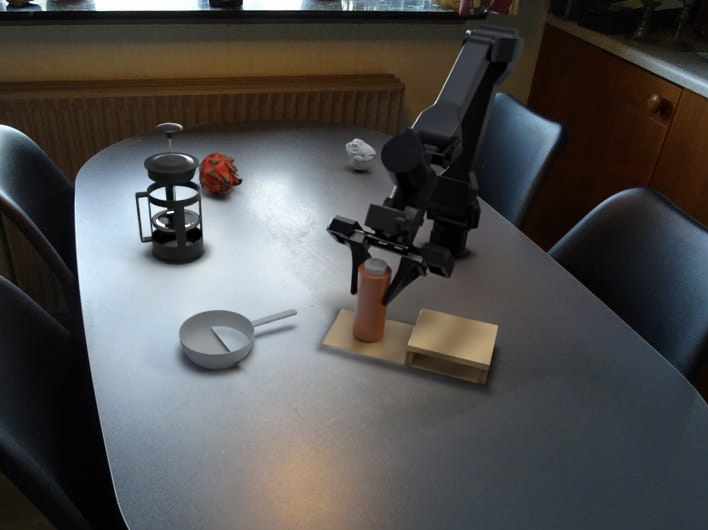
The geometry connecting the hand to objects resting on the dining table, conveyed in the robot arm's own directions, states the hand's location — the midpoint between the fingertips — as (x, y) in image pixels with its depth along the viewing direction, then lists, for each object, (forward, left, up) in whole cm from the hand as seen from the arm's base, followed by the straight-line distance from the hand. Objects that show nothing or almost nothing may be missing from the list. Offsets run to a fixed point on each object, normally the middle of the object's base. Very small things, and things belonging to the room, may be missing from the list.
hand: (367, 299), depth 97 cm
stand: (-5, +4, -8) cm, 10 cm away
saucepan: (+16, -8, -8) cm, 20 cm away
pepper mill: (-1, -1, -7) cm, 7 cm away
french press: (+14, -38, -8) cm, 42 cm away
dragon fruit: (-4, -58, -8) cm, 59 cm away
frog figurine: (-38, -55, -8) cm, 68 cm away
